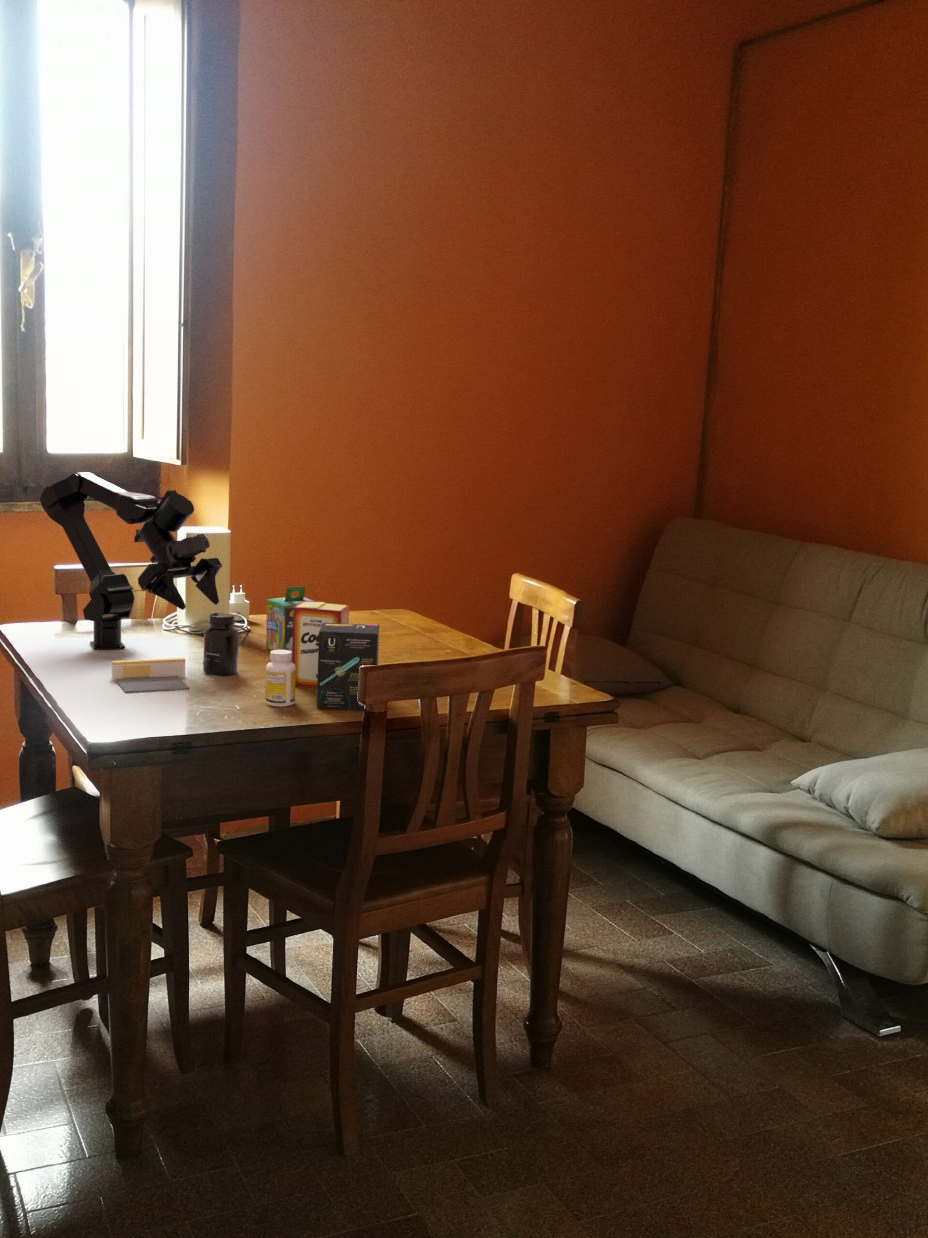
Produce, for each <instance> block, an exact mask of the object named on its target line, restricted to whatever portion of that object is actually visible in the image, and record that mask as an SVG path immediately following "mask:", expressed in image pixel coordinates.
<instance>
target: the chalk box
mask: <svg viewBox="0 0 928 1238" xmlns="http://www.w3.org/2000/svg"><path fill="white" fill-rule="evenodd" d="M293 592H299V594H298V595H296V596H292V593H293ZM305 593H306V586H304V585H301V586H299V585H297V586H288V587H287V588H286V592H285V597H276V598H268V599H266V623H265V624H266V627H265V628H266V630H265V631H266V632H265V633H266V635H265V636H266V638H265V640H266V642H265V643H266V645H265V648H266V649H267V650H269V651H273V650H289V651H292V645H293V612H294V607H295V606H296V605H298V604H300V603H302V602H317V601H315V600H313V599H310V598H307V597H305Z"/></svg>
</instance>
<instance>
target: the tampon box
mask: <svg viewBox="0 0 928 1238" xmlns="http://www.w3.org/2000/svg"><path fill="white" fill-rule="evenodd" d="M379 641H380V624H371V623H370V624H368V623H348V624H344V623H322V625H321V628H320V631H319V647H318V678H317V688H316V709H318V710H320V709H321V710H348V711H349V710H352V711H353V710H354V711H365V710H364V705H361V704H359V703H358V701H357V692H358V681H359V667H360V666H362V665H378V666H379V646H380V645H379V644H380V643H379Z"/></svg>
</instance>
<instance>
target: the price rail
mask: <svg viewBox="0 0 928 1238" xmlns="http://www.w3.org/2000/svg"><path fill="white" fill-rule="evenodd" d="M164 676H179V677H180V678H181V677H186V658H185V657H176V658H175V657H174V658H157V659H155V658H153V659H152V658H151V659H150V658H149V659H131V660H130V659H129V660H112V661H111V680H112V681H116V679H125V678H145V677H164Z"/></svg>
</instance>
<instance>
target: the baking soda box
mask: <svg viewBox="0 0 928 1238" xmlns="http://www.w3.org/2000/svg"><path fill="white" fill-rule="evenodd" d="M349 615H350V605H349V604H348V605H346V604H336V603H326V602H325V601H316V602H302V603H300V604H298V605H296V606H295V607H294V612H293V645H292V660H291V662H292V663H293V664H294V665H295V667H296V679H295V687H297V686H298V687H306V688H316V689H317V678H318V647H319V631H320V628H321V625H322V623H344V624H350V622H349V620H350V616H349Z"/></svg>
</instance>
